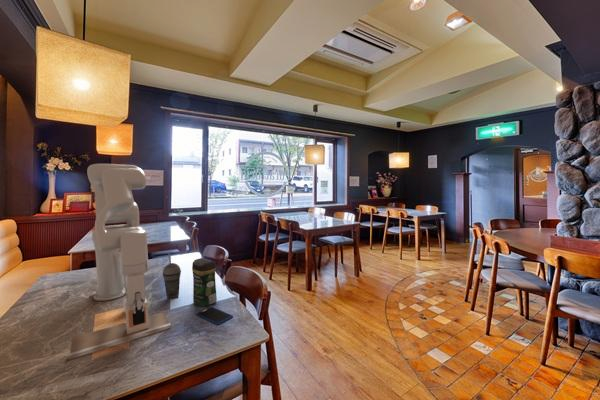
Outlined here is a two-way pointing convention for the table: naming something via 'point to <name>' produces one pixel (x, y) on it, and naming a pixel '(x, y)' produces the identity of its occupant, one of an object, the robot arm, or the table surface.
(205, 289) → the coffee jar
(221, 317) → the cell phone
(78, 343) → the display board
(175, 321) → the table surface
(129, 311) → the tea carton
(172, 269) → the beverage cup
